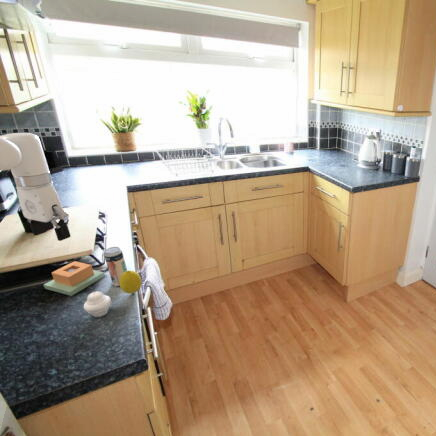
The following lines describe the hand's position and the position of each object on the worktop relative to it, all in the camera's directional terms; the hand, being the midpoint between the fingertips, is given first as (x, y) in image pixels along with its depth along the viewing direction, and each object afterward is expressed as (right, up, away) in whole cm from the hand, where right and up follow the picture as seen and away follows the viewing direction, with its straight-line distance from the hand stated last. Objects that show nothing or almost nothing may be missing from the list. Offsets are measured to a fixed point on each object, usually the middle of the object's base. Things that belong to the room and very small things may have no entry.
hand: (52, 236), depth 93 cm
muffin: (+18, -21, -5) cm, 28 cm away
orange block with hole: (+1, -14, +7) cm, 16 cm away
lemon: (+22, -18, +4) cm, 28 cm away
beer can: (+15, -16, +8) cm, 23 cm away
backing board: (+1, -15, +8) cm, 17 cm away
